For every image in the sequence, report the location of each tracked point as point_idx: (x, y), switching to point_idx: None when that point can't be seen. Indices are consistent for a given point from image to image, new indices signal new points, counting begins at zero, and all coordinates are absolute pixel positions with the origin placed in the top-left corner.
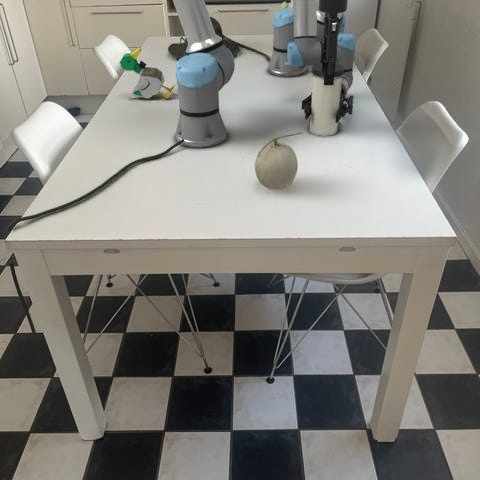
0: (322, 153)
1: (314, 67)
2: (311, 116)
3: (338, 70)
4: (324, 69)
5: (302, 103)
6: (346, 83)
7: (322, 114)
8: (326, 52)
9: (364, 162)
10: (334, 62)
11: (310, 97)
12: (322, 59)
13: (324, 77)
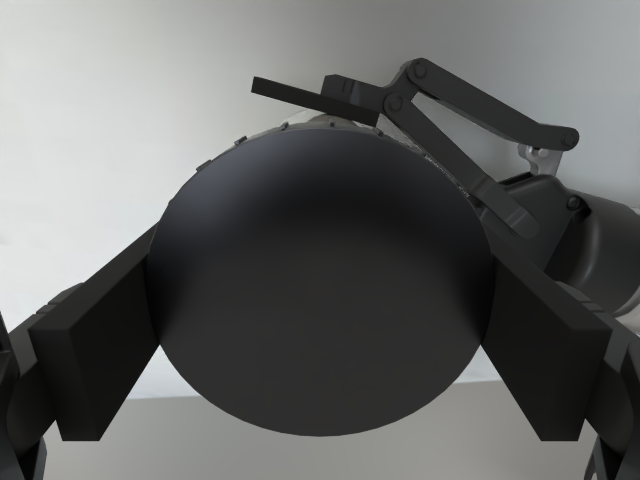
0: (91, 150)
1: (307, 158)
2: (298, 115)
3: (213, 387)
4: (234, 266)
5: (409, 63)
6: (634, 332)
7: None
8: (554, 369)
9: (53, 287)
10: (60, 427)
11: (484, 119)
12: (533, 274)
13: (133, 243)
